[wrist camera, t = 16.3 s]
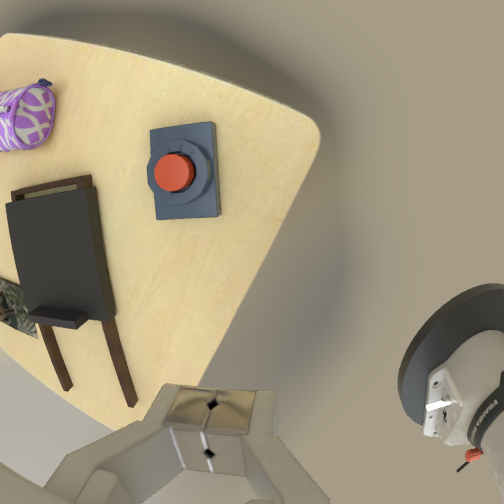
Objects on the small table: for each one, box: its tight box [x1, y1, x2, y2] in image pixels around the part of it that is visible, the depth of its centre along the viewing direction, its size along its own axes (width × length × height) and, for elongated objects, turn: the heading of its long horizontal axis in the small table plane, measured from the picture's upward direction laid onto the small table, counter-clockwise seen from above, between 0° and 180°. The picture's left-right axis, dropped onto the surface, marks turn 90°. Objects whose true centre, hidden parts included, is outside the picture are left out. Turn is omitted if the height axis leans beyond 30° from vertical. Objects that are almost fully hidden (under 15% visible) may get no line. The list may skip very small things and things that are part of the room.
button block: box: [147, 121, 221, 220], centre depth 32 cm, size 10×7×4 cm
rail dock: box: [11, 175, 138, 408], centre depth 39 cm, size 35×15×2 cm, turn 3°
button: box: [154, 154, 194, 191], centre depth 29 cm, size 4×4×2 cm
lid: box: [5, 187, 116, 330], centre depth 35 cm, size 17×17×5 cm
